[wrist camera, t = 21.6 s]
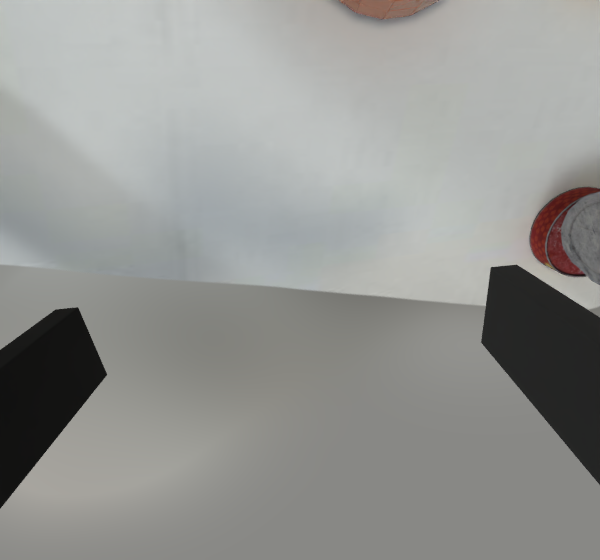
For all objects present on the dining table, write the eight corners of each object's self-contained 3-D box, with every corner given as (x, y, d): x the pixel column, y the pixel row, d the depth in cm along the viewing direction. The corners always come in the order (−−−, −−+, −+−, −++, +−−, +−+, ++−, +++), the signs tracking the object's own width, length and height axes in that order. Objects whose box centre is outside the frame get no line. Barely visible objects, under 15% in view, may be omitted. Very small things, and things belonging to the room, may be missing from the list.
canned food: (506, 225, 45) (523, 217, 35) (588, 176, 41) (631, 153, 32) (560, 298, 43) (592, 310, 34) (650, 254, 39) (714, 254, 30)
